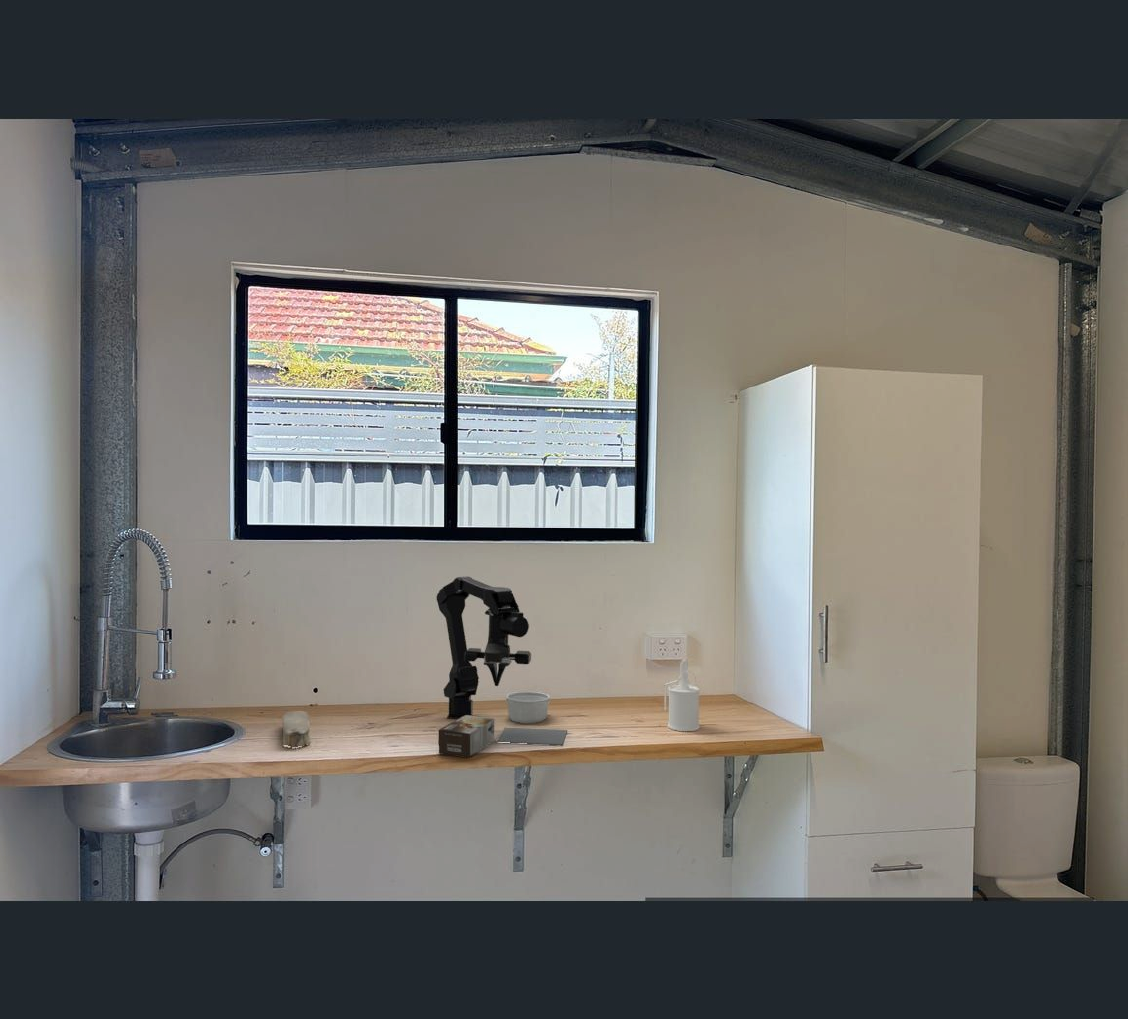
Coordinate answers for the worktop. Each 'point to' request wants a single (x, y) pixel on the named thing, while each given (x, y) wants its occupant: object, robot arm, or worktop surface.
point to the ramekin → (527, 706)
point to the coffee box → (466, 736)
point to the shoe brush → (296, 728)
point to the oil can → (683, 702)
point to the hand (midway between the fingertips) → (496, 685)
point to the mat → (532, 736)
